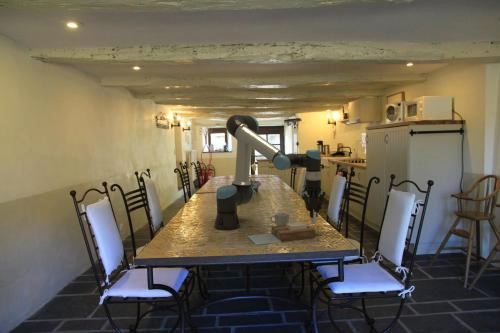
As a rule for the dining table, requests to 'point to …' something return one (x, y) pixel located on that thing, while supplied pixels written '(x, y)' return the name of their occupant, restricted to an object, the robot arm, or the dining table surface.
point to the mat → (264, 239)
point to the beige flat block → (296, 226)
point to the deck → (292, 233)
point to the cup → (280, 218)
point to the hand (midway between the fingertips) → (313, 223)
